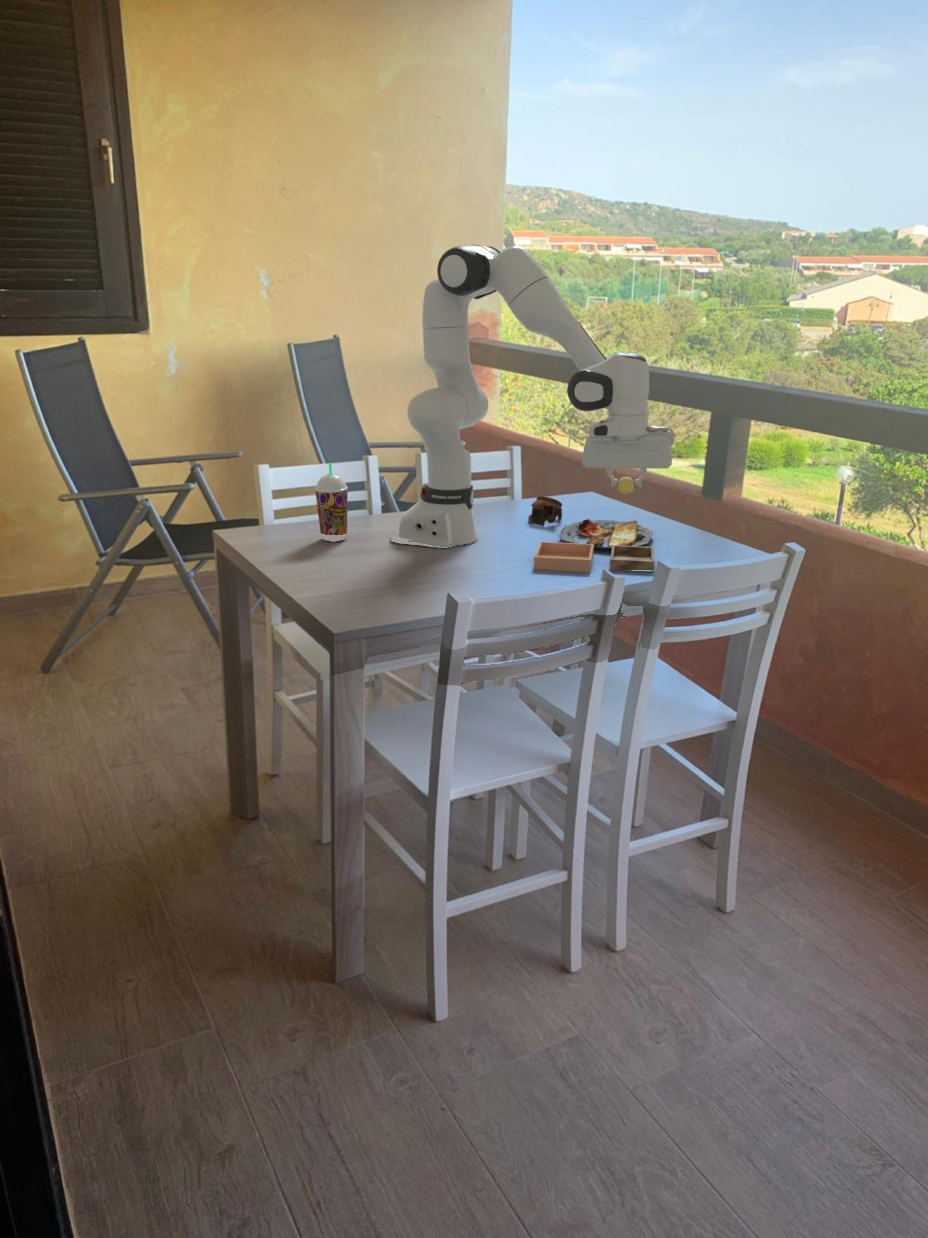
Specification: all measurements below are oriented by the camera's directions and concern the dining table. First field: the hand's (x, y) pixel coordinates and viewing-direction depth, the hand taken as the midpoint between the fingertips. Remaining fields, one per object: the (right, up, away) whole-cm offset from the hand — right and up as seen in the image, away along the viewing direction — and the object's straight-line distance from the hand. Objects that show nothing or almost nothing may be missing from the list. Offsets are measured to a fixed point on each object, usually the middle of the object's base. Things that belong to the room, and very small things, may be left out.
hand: (626, 487), depth 211 cm
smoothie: (-71, -10, +27) cm, 77 cm away
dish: (-13, -17, +8) cm, 23 cm away
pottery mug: (-15, -4, +43) cm, 46 cm away
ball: (0, 0, 0) cm, 0 cm away
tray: (+3, -17, +7) cm, 19 cm away
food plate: (-1, -10, +27) cm, 29 cm away
